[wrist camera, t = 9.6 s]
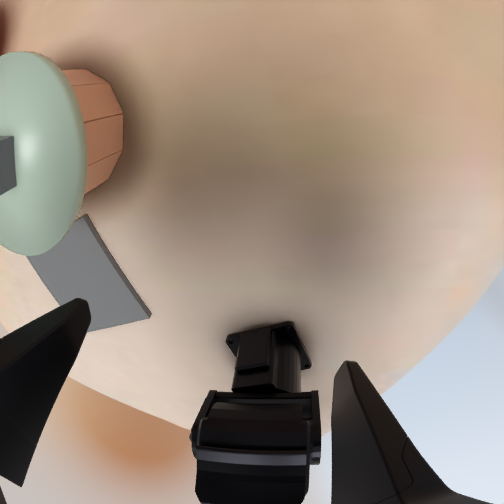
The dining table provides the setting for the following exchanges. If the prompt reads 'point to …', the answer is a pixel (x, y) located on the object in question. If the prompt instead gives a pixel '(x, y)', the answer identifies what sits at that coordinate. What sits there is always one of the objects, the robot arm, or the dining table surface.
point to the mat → (89, 277)
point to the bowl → (98, 124)
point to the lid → (38, 154)
